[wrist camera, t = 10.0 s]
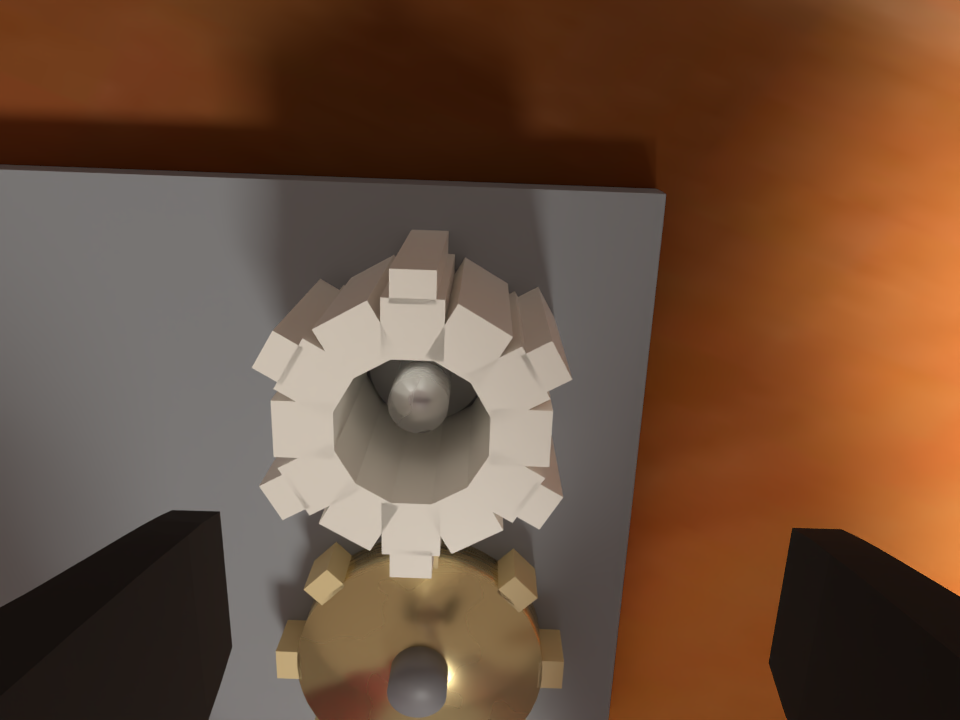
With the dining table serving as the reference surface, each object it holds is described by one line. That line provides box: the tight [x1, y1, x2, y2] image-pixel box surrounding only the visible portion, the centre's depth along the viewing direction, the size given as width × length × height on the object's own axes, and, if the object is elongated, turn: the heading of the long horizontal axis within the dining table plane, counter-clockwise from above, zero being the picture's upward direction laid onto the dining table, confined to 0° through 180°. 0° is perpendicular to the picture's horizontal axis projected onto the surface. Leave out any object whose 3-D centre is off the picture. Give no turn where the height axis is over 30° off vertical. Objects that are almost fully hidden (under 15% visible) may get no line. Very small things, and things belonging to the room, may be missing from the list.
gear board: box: [0, 164, 666, 720], centre depth 18 cm, size 15×16×4 cm
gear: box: [252, 230, 572, 579], centre depth 16 cm, size 6×6×4 cm
